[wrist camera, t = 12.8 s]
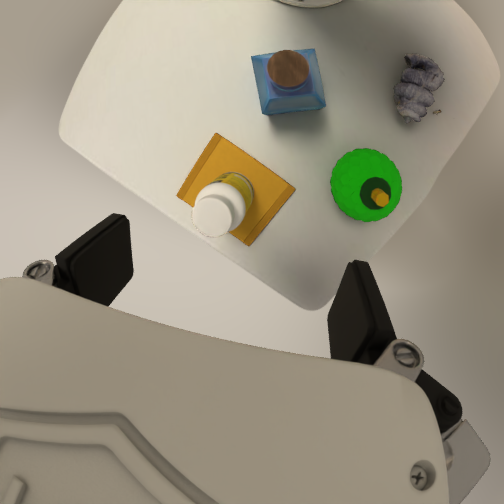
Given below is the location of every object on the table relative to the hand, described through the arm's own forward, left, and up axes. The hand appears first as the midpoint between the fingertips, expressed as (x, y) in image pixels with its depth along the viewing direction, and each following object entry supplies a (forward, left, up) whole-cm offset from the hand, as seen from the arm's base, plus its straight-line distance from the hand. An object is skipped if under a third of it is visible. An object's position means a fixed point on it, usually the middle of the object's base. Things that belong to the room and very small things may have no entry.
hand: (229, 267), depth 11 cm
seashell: (-14, +16, -24) cm, 32 cm away
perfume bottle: (-10, +1, -24) cm, 26 cm away
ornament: (-1, +11, -24) cm, 26 cm away
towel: (+4, -4, -24) cm, 25 cm away
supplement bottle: (+4, -4, -24) cm, 24 cm away
